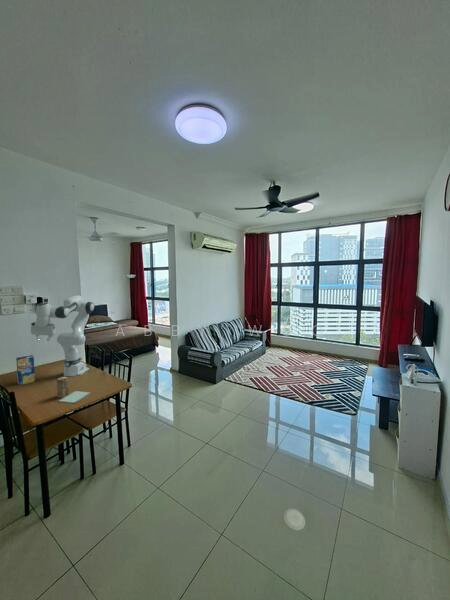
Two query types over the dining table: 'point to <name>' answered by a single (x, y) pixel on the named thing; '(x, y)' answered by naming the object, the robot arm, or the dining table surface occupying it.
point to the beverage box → (25, 369)
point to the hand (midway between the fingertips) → (43, 340)
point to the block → (62, 387)
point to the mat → (74, 397)
